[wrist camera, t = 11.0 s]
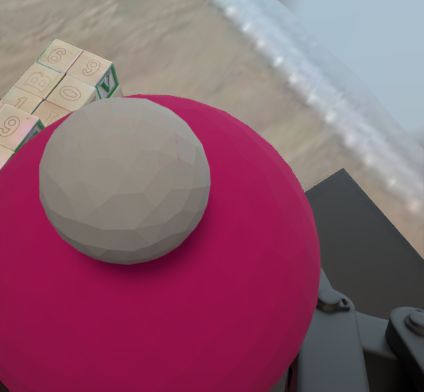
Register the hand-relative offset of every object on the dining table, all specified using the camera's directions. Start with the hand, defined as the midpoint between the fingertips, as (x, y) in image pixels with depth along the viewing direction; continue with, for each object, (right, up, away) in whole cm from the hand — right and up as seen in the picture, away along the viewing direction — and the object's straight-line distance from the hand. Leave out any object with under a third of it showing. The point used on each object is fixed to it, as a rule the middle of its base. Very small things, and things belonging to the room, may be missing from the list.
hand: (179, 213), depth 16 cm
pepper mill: (-1, -7, +6) cm, 9 cm away
